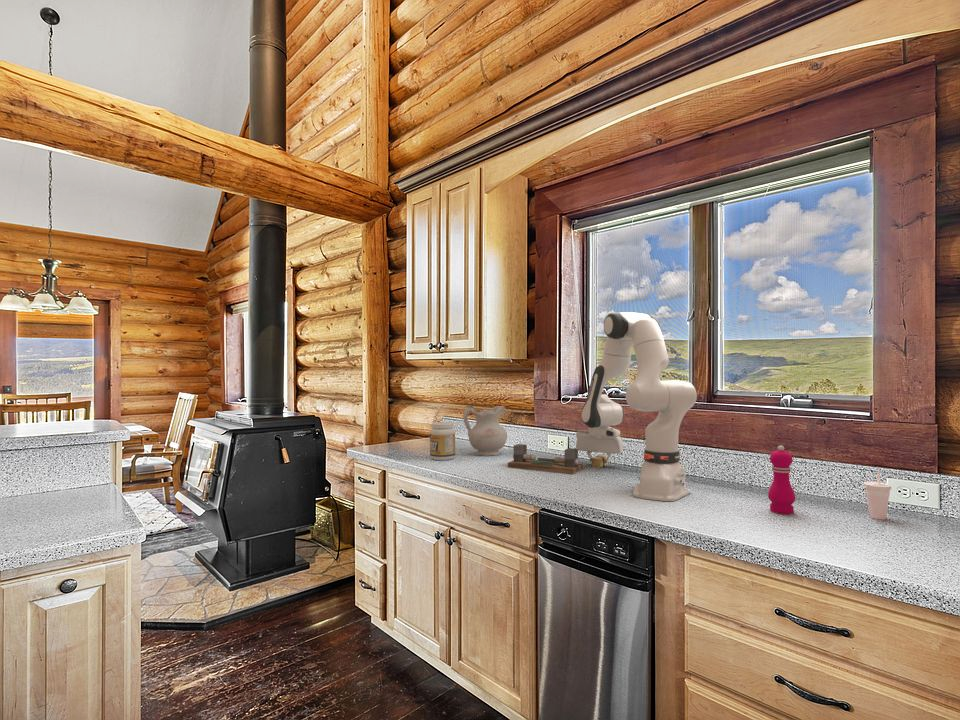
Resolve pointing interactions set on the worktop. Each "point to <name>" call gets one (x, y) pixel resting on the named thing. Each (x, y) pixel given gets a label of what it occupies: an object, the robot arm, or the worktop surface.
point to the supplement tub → (442, 441)
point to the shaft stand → (546, 461)
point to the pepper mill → (781, 483)
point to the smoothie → (877, 498)
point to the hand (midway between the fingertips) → (599, 462)
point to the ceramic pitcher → (486, 430)
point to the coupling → (598, 461)
